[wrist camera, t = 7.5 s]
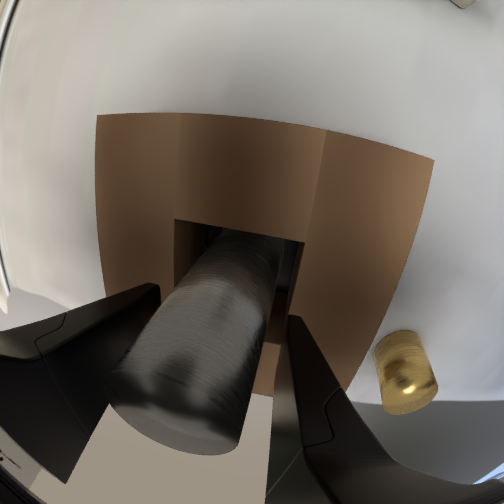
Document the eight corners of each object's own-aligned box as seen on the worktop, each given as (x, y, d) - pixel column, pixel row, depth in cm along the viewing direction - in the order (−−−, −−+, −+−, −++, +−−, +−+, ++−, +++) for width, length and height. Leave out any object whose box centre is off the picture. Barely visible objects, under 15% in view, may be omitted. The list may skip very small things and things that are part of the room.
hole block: (397, 151, 11) (434, 160, 7) (334, 354, 16) (336, 406, 12) (148, 115, 12) (97, 115, 9) (149, 313, 17) (118, 352, 14)
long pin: (289, 220, 13) (247, 403, 4) (278, 279, 15) (232, 465, 6) (223, 208, 14) (87, 349, 5) (218, 266, 15) (120, 427, 6)
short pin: (428, 332, 14) (448, 379, 11) (407, 368, 16) (419, 414, 12) (385, 327, 15) (400, 377, 11) (366, 364, 16) (373, 414, 12)
